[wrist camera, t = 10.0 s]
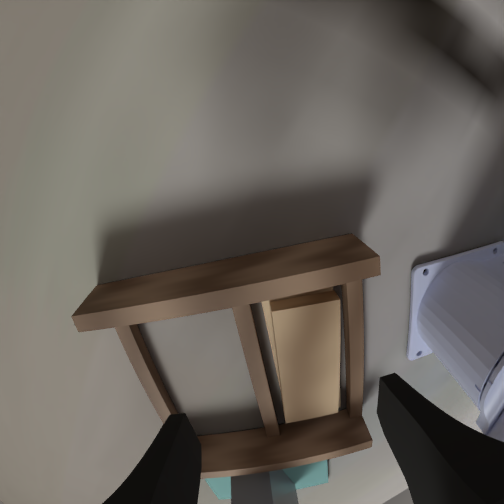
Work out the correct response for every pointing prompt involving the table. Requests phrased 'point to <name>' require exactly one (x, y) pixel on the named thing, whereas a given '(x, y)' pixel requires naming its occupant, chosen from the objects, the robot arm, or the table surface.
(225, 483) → the teal mat
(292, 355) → the upper offcut board
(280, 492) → the gray rectangular block
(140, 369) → the walnut rack
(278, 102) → the table surface
